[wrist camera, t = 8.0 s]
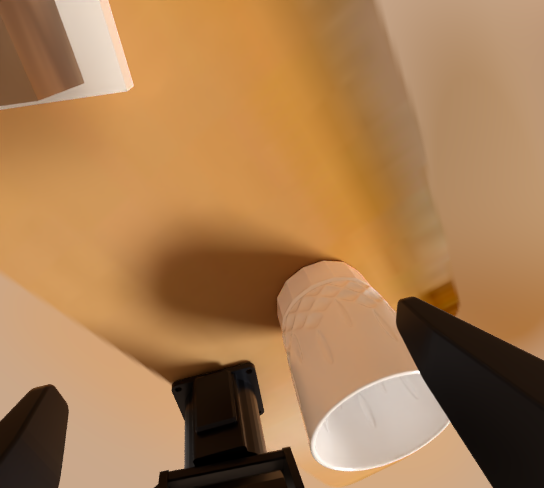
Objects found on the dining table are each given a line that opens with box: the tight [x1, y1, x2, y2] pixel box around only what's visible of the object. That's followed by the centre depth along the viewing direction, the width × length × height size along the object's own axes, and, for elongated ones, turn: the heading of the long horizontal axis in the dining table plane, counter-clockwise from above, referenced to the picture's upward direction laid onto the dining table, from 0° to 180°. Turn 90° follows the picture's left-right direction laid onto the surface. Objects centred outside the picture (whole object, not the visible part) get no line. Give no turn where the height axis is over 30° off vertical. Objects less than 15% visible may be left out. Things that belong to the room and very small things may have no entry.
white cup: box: [277, 261, 450, 471], centre depth 21 cm, size 8×8×10 cm
